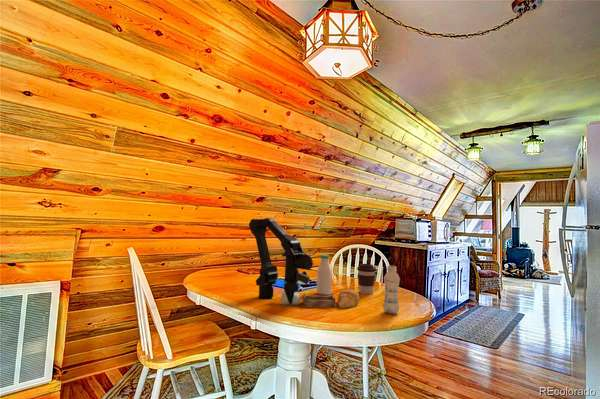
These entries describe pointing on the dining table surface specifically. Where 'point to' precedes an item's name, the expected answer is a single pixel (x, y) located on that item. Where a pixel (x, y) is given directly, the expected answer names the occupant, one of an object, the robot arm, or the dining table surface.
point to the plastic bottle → (391, 291)
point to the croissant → (348, 298)
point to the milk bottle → (324, 276)
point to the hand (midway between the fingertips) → (290, 301)
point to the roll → (294, 302)
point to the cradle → (318, 301)
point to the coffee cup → (366, 278)
